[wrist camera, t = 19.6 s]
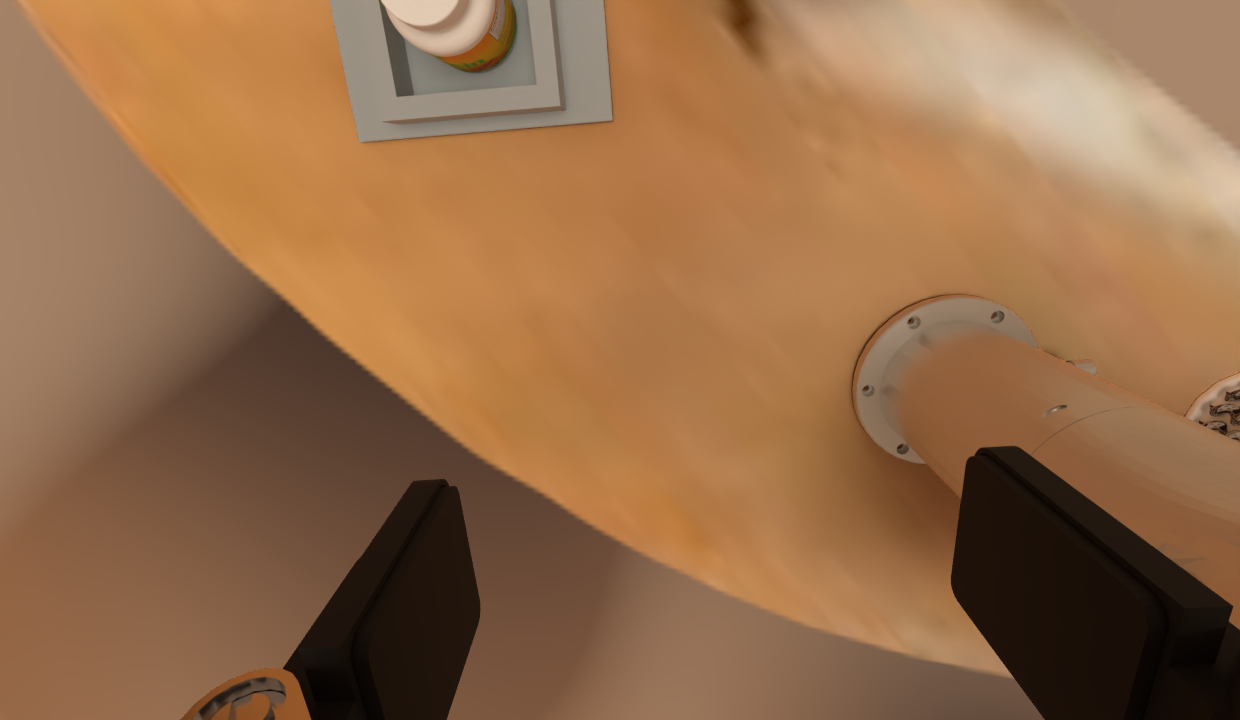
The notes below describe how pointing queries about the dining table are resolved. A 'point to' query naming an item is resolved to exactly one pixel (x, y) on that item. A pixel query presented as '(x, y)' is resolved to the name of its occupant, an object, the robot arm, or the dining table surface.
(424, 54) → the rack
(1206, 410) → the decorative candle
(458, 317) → the dining table surface
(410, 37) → the supplement bottle
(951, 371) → the robot arm
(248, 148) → the dining table surface
